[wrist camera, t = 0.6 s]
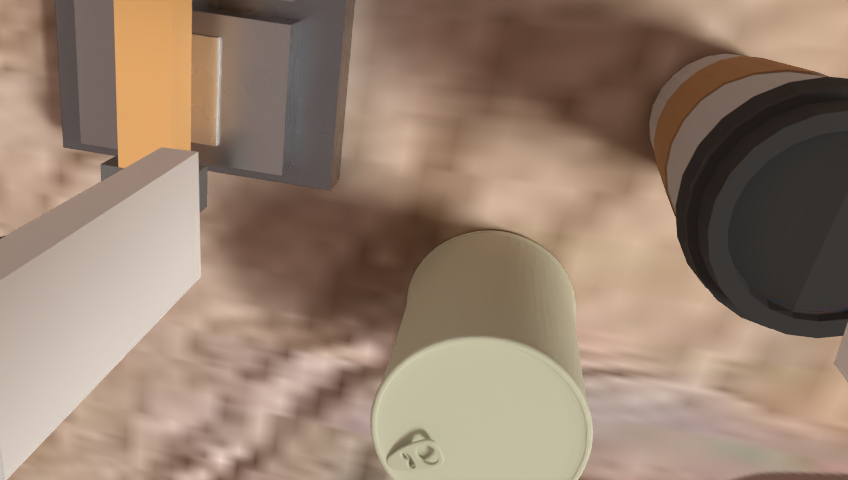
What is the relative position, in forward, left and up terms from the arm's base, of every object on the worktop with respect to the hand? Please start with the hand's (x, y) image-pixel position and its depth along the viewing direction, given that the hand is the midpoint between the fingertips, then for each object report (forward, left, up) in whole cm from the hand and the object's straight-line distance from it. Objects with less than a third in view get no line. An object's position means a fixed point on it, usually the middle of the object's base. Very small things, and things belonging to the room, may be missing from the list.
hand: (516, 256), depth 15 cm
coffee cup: (+1, +10, -24) cm, 26 cm away
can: (+13, +1, -24) cm, 27 cm away
